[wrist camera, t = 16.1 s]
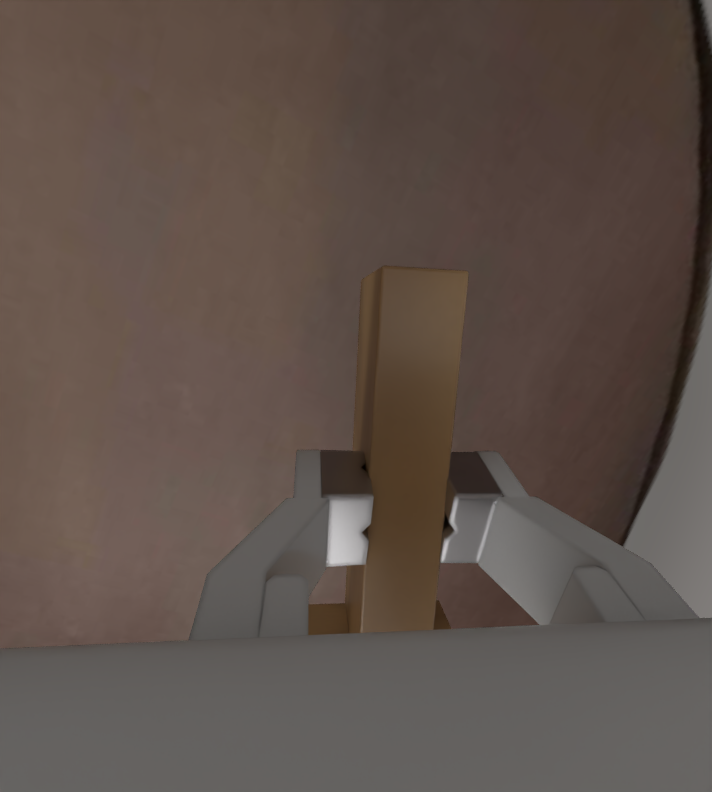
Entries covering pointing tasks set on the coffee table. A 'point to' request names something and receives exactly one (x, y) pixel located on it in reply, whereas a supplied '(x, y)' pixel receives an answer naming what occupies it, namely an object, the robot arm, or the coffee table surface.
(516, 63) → the coffee table surface
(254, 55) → the coffee table surface
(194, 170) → the coffee table surface
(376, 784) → the robot arm
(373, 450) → the fork
